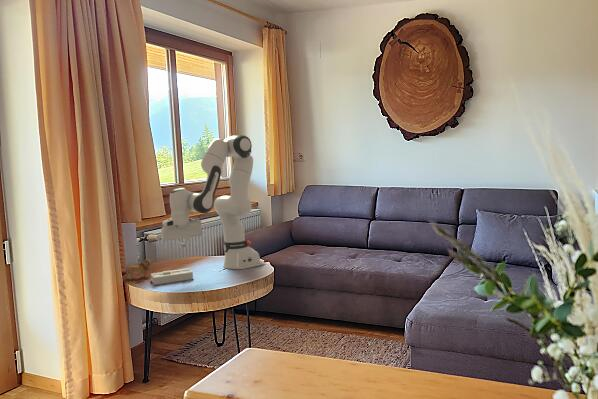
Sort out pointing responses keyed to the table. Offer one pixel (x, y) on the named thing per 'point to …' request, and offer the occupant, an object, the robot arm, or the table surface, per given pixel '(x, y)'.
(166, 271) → the key sage
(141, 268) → the lion figurine
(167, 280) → the keypad
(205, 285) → the table surface
